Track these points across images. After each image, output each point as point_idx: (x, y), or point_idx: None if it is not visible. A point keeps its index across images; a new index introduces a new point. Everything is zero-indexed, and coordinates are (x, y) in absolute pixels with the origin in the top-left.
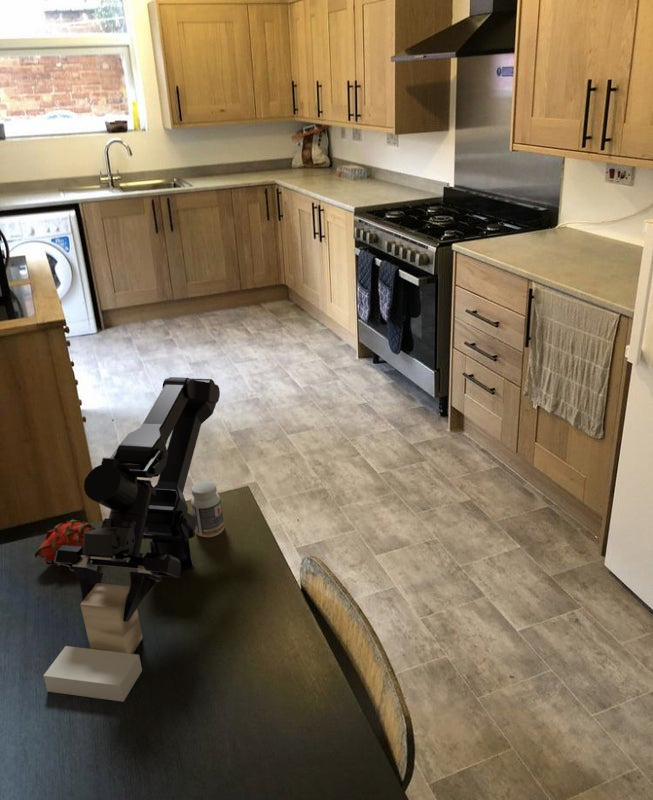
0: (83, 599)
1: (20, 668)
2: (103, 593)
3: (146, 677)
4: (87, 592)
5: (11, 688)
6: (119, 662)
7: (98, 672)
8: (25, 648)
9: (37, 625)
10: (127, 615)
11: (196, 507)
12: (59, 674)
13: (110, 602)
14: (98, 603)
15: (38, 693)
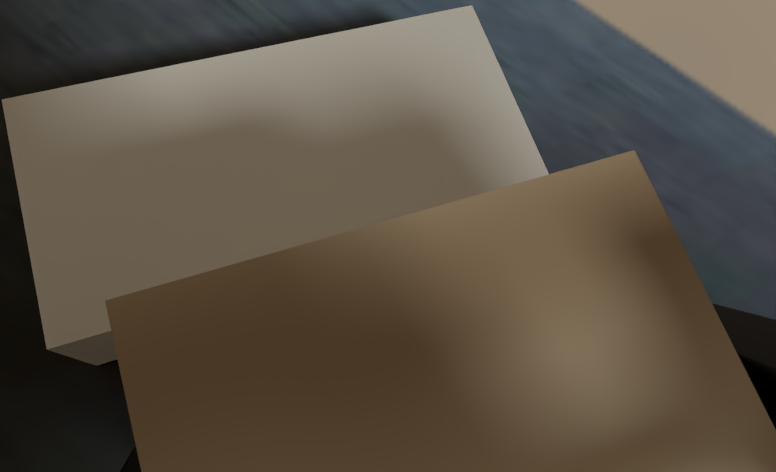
0: (726, 314)
1: (667, 115)
2: (567, 460)
3: (36, 336)
4: (772, 366)
5: (592, 29)
6: (138, 235)
7: (209, 125)
8: (767, 207)
9: None
10: (136, 449)
11: None
12: (404, 38)
13: (301, 347)
14: (448, 258)
15: None
